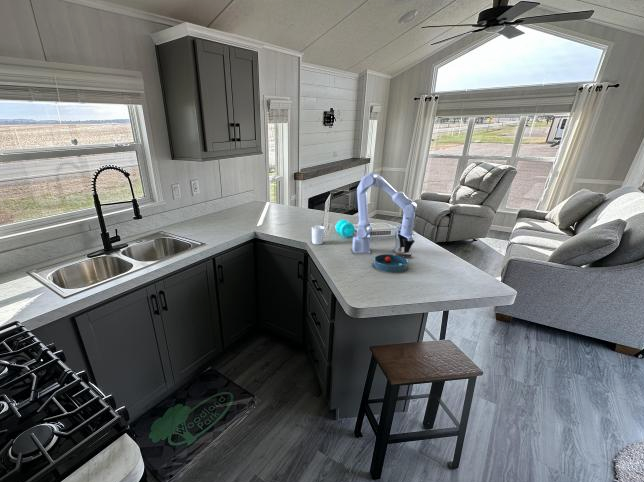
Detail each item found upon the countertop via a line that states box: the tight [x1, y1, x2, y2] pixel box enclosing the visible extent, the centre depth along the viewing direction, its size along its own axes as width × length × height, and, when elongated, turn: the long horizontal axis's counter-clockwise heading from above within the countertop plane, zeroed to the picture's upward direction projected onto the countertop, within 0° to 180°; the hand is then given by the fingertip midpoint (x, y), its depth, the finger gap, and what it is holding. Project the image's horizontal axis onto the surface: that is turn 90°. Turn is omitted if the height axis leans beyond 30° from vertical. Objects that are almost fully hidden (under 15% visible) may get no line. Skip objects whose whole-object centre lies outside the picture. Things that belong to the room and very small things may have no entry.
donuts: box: [335, 219, 356, 238], centre depth 214 cm, size 10×10×10 cm
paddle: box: [394, 252, 413, 259], centre depth 178 cm, size 8×2×2 cm, turn 86°
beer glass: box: [393, 223, 405, 253], centre depth 185 cm, size 7×7×15 cm
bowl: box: [373, 253, 409, 273], centre depth 168 cm, size 16×16×4 cm
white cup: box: [311, 225, 326, 245], centre depth 203 cm, size 8×8×10 cm
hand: (404, 249), depth 177 cm, fingers open, 7 cm apart
